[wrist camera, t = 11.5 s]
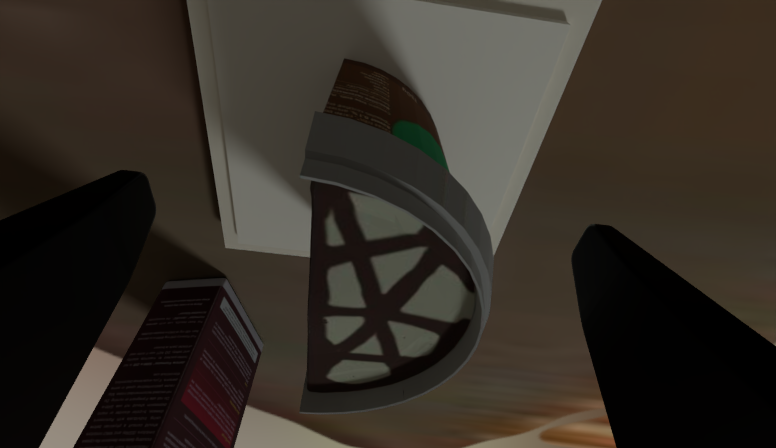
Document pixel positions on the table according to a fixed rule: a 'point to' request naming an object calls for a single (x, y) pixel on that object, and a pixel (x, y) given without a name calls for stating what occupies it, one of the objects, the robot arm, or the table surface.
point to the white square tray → (395, 56)
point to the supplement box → (181, 374)
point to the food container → (387, 251)
